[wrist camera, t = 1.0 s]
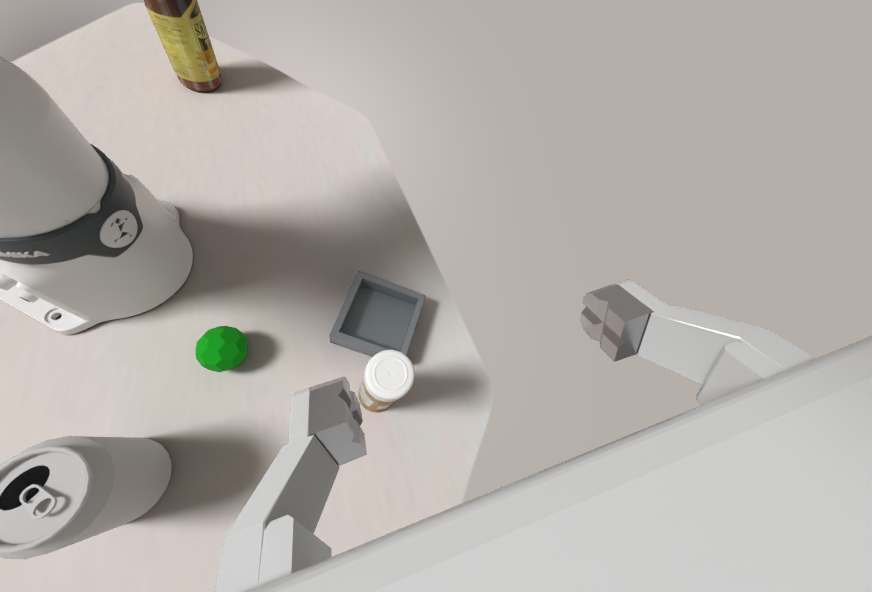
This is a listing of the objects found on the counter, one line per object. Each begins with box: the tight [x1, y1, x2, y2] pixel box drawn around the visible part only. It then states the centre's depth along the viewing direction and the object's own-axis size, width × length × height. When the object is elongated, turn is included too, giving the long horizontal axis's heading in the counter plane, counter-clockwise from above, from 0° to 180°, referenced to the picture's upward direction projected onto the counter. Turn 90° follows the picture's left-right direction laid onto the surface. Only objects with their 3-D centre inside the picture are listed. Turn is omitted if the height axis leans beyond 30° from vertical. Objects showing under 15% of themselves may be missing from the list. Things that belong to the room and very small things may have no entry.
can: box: [0, 436, 172, 559], centre depth 27 cm, size 8×8×12 cm
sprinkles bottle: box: [359, 350, 415, 412], centre depth 35 cm, size 5×5×14 cm
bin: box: [330, 271, 425, 357], centre depth 44 cm, size 10×10×3 cm
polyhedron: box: [196, 326, 248, 372], centre depth 37 cm, size 5×5×5 cm
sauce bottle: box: [144, 0, 221, 91], centre depth 45 cm, size 7×6×20 cm
